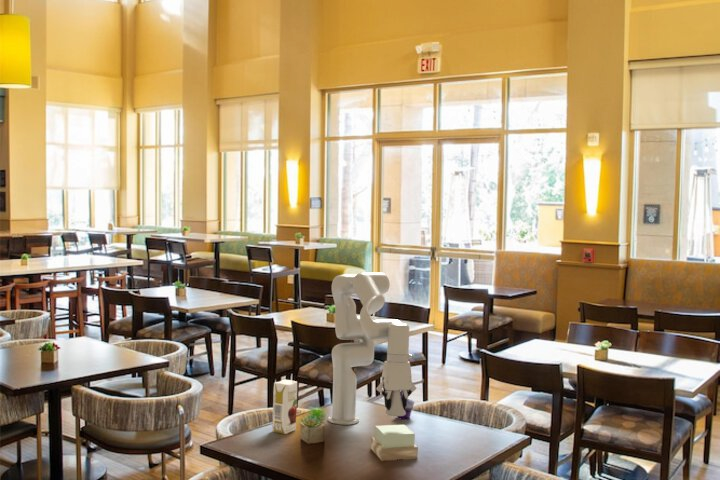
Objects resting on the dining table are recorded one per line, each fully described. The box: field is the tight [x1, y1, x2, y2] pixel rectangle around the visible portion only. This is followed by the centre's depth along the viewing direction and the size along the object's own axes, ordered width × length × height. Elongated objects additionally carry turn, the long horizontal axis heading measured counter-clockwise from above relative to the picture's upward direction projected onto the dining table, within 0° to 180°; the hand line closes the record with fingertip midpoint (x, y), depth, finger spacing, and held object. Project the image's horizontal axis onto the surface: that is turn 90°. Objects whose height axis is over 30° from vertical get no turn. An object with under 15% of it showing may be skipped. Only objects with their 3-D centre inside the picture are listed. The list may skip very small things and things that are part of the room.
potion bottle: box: [396, 391, 415, 420], centre depth 306 cm, size 9×9×12 cm
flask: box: [385, 391, 406, 417], centre depth 259 cm, size 7×7×10 cm
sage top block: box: [374, 424, 416, 448], centre depth 259 cm, size 11×11×4 cm
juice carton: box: [272, 378, 298, 435], centre depth 281 cm, size 8×9×19 cm
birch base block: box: [370, 436, 419, 462], centre depth 260 cm, size 13×13×4 cm
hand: (395, 408), depth 259 cm, fingers closed on flask, 4 cm apart
